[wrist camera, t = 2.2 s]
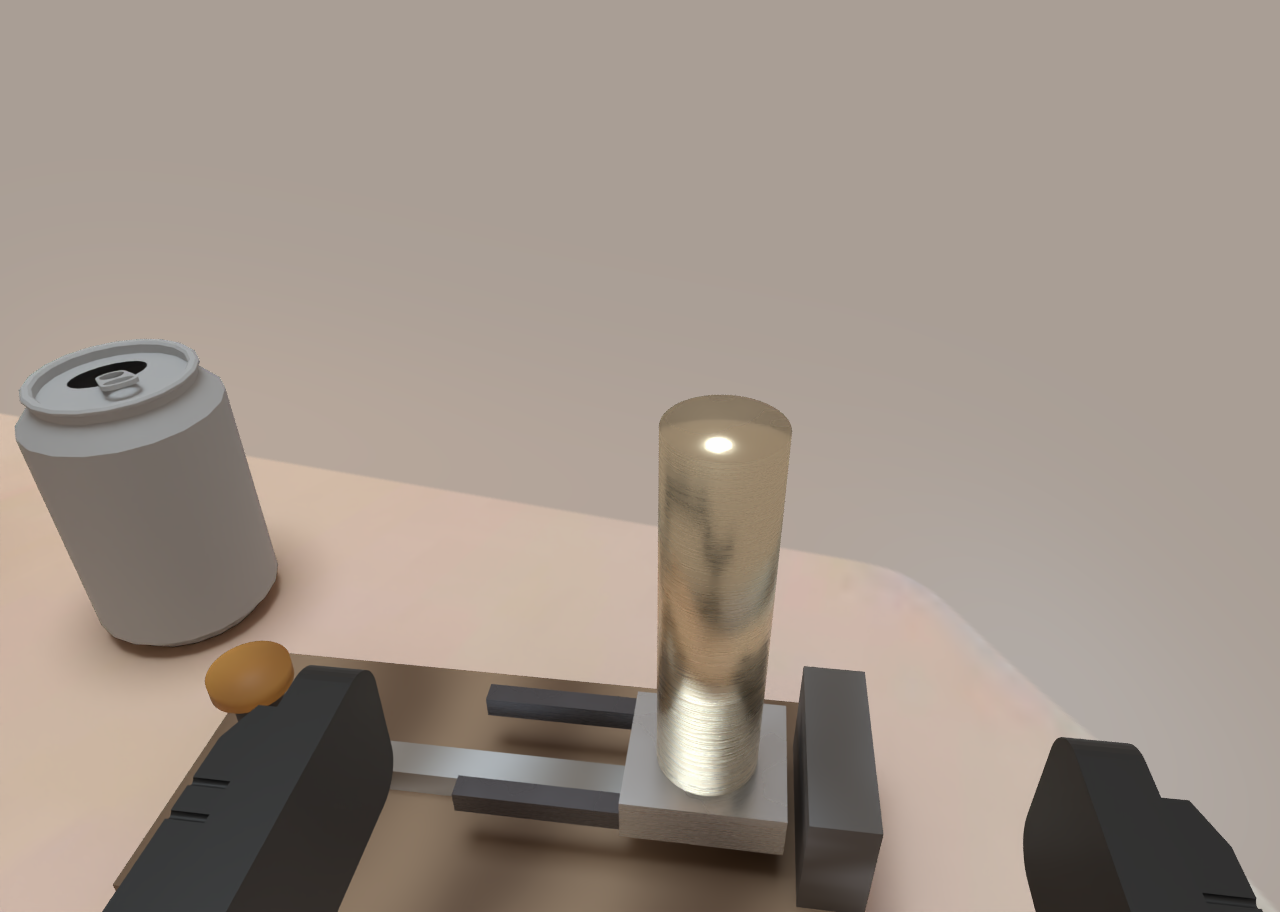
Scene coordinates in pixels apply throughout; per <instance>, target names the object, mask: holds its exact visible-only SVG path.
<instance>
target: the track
mask: <svg viewBox="0 0 1280 912" xmlns="http://www.w3.org/2000/svg"><path fill="white" fill-rule="evenodd" d="M309 665H318V666H329V667H340V668H351V669H361V670H368V671H370V672H371V673H372V674H373V676H374V677H375V680H376V684H377V688H378V692H379V696H380V700H381V704H382V709H383V713H384V717H385V721H386V725H387V729H388V733H389V737H390V741H391V745H392V750H393V774H392V780H391V785H390V789H389V793H388V796H387V799H386V802H385V804H384V807H383V809H382V811H381V814H380V816H379V818H378V821H377V823H376V825H375V827H374V830H373V832H372V834H371V837H370V839H369V841H368V843H367V846H366V848H365V850H364V853H363V855H362V857H361V859H360V862H359V864H358V866H357V869H356V871H355V873H354V875H353V878H352V880H351V882H350V884H349V887H348V889H347V891H346V894H345V896H344V898H343V900H342V903H341V905H340V907H339V910H338V912H865V908H866V904H867V900H868V896H869V891H870V887H871V883H872V879H873V875H874V871H875V867H876V863H877V858H878V854H879V850H880V846H881V842H882V838H883V828H882V819H881V810H880V801H879V793H878V784H877V775H876V766H875V758H874V749H873V740H872V731H871V722H870V714H869V705H868V696H867V687H866V679H865V672H860V671H849V670H839V669H828V668H817V667H806V666H804V668H803V676H802V683H801V690H800V698H799V703H795V702H785V701H775V700H765V699H764V704H772V705H782V706H786V739H787V820H788V823H787V830H786V837H785V844H784V851H783V855H777V854H769V853H760V852H752V851H743V850H735V849H726V848H718V847H709V846H700V845H692V844H683V843H675V842H666V841H658V840H649V839H640V838H632V837H623V836H619V830H618V829H609V828H601V827H592V826H583V825H575V824H566V823H558V822H549V821H540V820H532V819H523V818H514V817H506V816H497V815H489V814H480V813H471V812H463V811H455V810H454V805H453V800H452V795H451V794H452V792H453V789H454V786H455V783H456V780H457V778H458V775H461V776H470V777H479V778H488V779H497V780H506V781H515V782H524V783H533V784H542V785H550V786H559V787H568V788H577V789H586V790H595V791H604V792H613V793H620V792H621V787H622V781H623V775H624V769H625V764H626V758H627V752H628V746H629V740H630V735H631V730H629V729H619V728H609V727H599V726H590V725H580V724H570V723H561V722H551V721H541V720H531V719H522V718H512V717H502V716H492V715H488V711H487V704H486V697H487V695H488V692H489V689H490V686H491V684H498V685H508V686H518V687H528V688H538V689H548V690H558V691H569V692H579V693H589V694H599V695H609V696H619V697H629V698H637V694H638V691H639V692H649V693H657V689H651V688H641V687H631V686H620V685H610V684H600V683H589V682H579V681H569V680H559V679H548V678H538V677H528V676H517V675H507V674H497V673H486V672H476V671H466V670H456V669H445V668H435V667H425V666H414V665H404V664H394V663H383V662H373V661H363V660H353V659H342V658H332V657H322V656H311V655H301V654H291V653H289V652H288V651H287V649H286V648H285V647H283V646H282V645H280V644H278V643H275V642H271V641H255V642H249V643H245V644H242V645H239V646H237V647H235V648H233V649H231V650H229V651H227V652H226V653H224V654H223V655H221V656H220V657H219V658H218V659H217V660H216V661H215V662H214V663H213V664H212V665H211V666H210V668H209V670H208V672H207V674H206V677H205V685H206V689H207V691H208V694H209V696H210V699H211V701H212V703H213V705H214V706H215V707H216V708H218V709H219V710H221V711H224V712H227V713H228V714H227V715H226V717H225V718H224V720H223V721H222V723H221V724H220V726H219V727H218V729H217V730H216V732H215V733H214V735H213V736H212V738H211V739H210V741H209V742H208V744H207V745H206V747H205V748H204V750H203V751H202V753H201V754H200V756H199V757H198V758H197V760H196V761H195V763H194V764H193V766H192V767H191V769H190V770H189V772H188V773H187V775H186V776H185V778H184V779H183V781H182V782H181V784H180V785H179V787H178V788H177V790H176V791H175V793H174V794H173V796H172V797H171V799H170V800H169V802H168V803H167V805H166V806H165V808H164V809H163V811H162V812H161V814H160V815H159V817H158V818H157V820H156V821H155V823H154V824H153V826H152V827H151V829H150V830H149V832H148V833H147V835H146V836H145V838H144V839H143V841H142V842H141V844H140V845H139V847H138V848H137V850H136V851H135V852H134V854H133V855H132V857H131V858H130V860H129V861H128V863H127V864H126V866H125V867H124V869H123V870H122V872H121V873H120V875H119V876H118V878H117V879H116V881H115V882H114V884H113V886H114V888H115V890H116V891H117V889H118V888H119V886H120V885H121V883H122V882H123V880H124V879H125V877H126V876H127V874H128V873H129V871H130V870H131V868H132V867H133V865H134V864H135V862H136V861H137V859H138V858H139V856H140V855H141V853H142V852H143V850H144V849H145V847H146V846H147V844H148V843H149V841H150V840H151V838H152V837H153V835H154V834H155V833H156V831H157V830H158V828H159V827H160V825H161V824H162V822H163V821H164V819H168V818H169V817H170V815H171V809H172V807H173V806H174V804H175V803H176V801H177V800H178V798H179V797H180V795H181V794H182V792H183V791H184V789H185V788H186V786H187V785H191V784H192V782H193V776H194V775H195V773H196V772H197V770H198V769H199V767H200V766H201V764H202V763H203V761H204V760H205V758H206V757H207V755H208V754H209V752H210V751H211V749H212V748H213V746H214V745H215V743H216V742H217V740H218V739H219V737H221V736H222V735H223V734H224V733H225V732H227V731H228V730H229V729H230V728H231V727H233V726H234V725H235V724H236V723H237V722H239V721H240V720H241V719H242V718H243V717H245V716H246V715H247V714H248V713H249V712H251V711H252V710H253V709H254V708H255V707H257V706H258V705H264V706H274V707H277V706H278V705H279V703H280V701H281V700H282V698H283V697H284V695H285V693H286V692H287V690H288V689H289V687H290V685H291V684H292V682H293V681H294V679H295V678H296V676H297V675H298V673H299V672H300V671H301V670H302V669H303V668H305V667H306V666H309Z"/></svg>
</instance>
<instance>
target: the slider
mask: <svg viewBox="0 0 1280 912" xmlns="http://www.w3.org/2000/svg"><path fill="white" fill-rule="evenodd" d="M791 436H792V428H791V425H790V422H789V421H788V419H787V418H786V417H785V416H784V415H783V414H782V413H781V412H780V411H779V410H777V409H775V408H774V407H772V406H770V405H768V404H766V403H763V402H761V401H758V400H755V399H751V398H746V397H741V396H733V395H708V396H701V397H695V398H691V399H688V400H685V401H683V402H680V403H678V404H676V405H674V406H673V407H671V408H670V409H668V410H667V411H666V412H665V413H664V414H663V416H662V418H661V420H660V423H659V500H658V501H659V503H658V507H659V508H658V628H657V693H649V692H639V691H638V694H637V698H629V697H619V696H609V695H599V694H589V693H579V692H569V691H558V690H548V689H538V688H528V687H518V686H508V685H498V684H491V686H490V689H489V692H488V695H487V697H486V704H487V711H488V715H492V716H502V717H512V718H522V719H531V720H541V721H551V722H561V723H570V724H580V725H590V726H599V727H609V728H619V729H629V730H631V735H630V740H629V746H628V752H627V758H626V764H625V769H624V775H623V781H622V787H621V792H620V793H613V792H604V791H595V790H586V789H577V788H568V787H559V786H550V785H542V784H533V783H524V782H515V781H506V780H497V779H488V778H479V777H470V776H461V775H458V778H457V780H456V783H455V786H454V789H453V792H452V794H451V795H452V800H453V805H454V810H455V811H463V812H471V813H480V814H489V815H497V816H506V817H514V818H523V819H532V820H540V821H549V822H558V823H566V824H575V825H583V826H592V827H601V828H609V829H618V830H619V836H623V837H632V838H640V839H649V840H658V841H666V842H675V843H683V844H692V845H700V846H709V847H718V848H726V849H735V850H743V851H752V852H760V853H769V854H777V855H783V851H784V844H785V837H786V830H787V823H788V820H787V739H786V706H782V705H772V704H764V694H765V685H766V675H767V665H768V656H769V646H770V637H771V627H772V618H773V608H774V599H775V589H776V579H777V570H778V560H779V551H780V541H781V532H782V522H783V512H784V502H785V493H786V484H787V474H788V465H789V455H790V445H791Z"/></svg>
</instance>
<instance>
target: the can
mask: <svg viewBox="0 0 1280 912" xmlns="http://www.w3.org/2000/svg"><path fill="white" fill-rule="evenodd" d="M199 362H200V361H199V358H198V356H197V355H196V352H195V350H193V349H191V348H189V347H187V346H185V345H184V344H181V343H178V342H173V341H168V340H163V339H136V340H126V341H117V342H111V343H107V344H102V345H97V346H93V347H89V348H86V349H83V350H80V351H77V352H74V353H71V354H68V355H65V356H63V357H60V358H58V359H56V360H54V361H52V362H50V363H48V364H46V365H44V366H42V367H41V368H40V369H38V370H37V371H36V372H34V373H33V374H31V375H30V376H29V377H28V378H27V379H26V381H25V382H24V384H23V385H22V387H21V388H20V390H19V396H20V402H21V404H23V405H24V406H25V407H26V408H25V410H24V412H23V413H22V415H21V417H20V418H19V420H18V422H17V423H16V425H15V436H16V441H17V443H18V446H19V448H20V450H21V452H22V454H23V456H24V459H25V461H26V463H27V465H28V467H29V469H30V472H31V474H32V476H33V478H34V480H35V482H36V484H37V487H38V489H39V491H40V493H41V495H42V497H43V500H44V502H45V504H46V506H47V508H48V510H49V513H50V515H51V517H52V519H53V521H54V523H55V525H56V528H57V530H58V532H59V534H60V536H61V538H62V541H63V543H64V545H65V547H66V549H67V551H68V554H69V556H70V558H71V560H72V562H73V564H74V567H75V569H76V571H77V573H78V575H79V577H80V579H81V582H82V584H83V586H84V588H85V590H86V592H87V595H88V597H89V599H90V601H91V603H92V605H93V608H94V610H95V612H96V614H97V616H98V618H99V621H100V623H101V625H102V626H103V627H104V628H105V629H106V630H107V631H108V632H109V633H110V634H111V635H112V636H113V637H115V638H118V639H121V640H124V641H127V642H130V643H133V644H145V645H153V646H173V647H174V646H180V645H186V644H191V643H197V642H200V641H203V640H205V639H208V638H211V637H213V636H216V635H219V634H221V633H223V632H224V631H226V630H228V629H229V628H231V627H233V626H235V625H236V624H238V623H240V622H241V621H242V620H243V619H244V618H245V617H246V616H247V615H248V614H249V613H251V612H252V611H253V610H254V609H255V607H256V605H257V604H258V603H259V602H260V601H262V600H263V599H264V598H265V597H266V595H267V593H268V592H269V590H270V588H271V587H272V585H273V584H274V582H275V580H276V574H277V566H278V563H277V560H276V556H275V553H274V550H273V546H272V543H271V540H270V536H269V533H268V530H267V526H266V523H265V520H264V516H263V513H262V510H261V506H260V503H259V500H258V496H257V493H256V489H255V486H254V483H253V479H252V476H251V473H250V469H249V466H248V463H247V459H246V456H245V453H244V450H243V446H242V443H241V440H240V436H239V433H238V429H237V426H236V423H235V419H234V416H233V413H232V409H231V406H230V402H229V399H228V396H227V392H226V389H225V387H224V385H223V383H222V381H221V379H220V377H219V376H217V375H215V374H213V373H212V372H210V371H208V370H206V369H204V368H203V367H201V366H199Z"/></svg>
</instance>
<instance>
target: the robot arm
mask: <svg viewBox="0 0 1280 912" xmlns="http://www.w3.org/2000/svg"><path fill="white" fill-rule="evenodd" d="M392 774H393V750H392V745H391V741H390V737H389V733H388V729H387V725H386V721H385V717H384V713H383V709H382V704H381V700H380V696H379V692H378V688H377V684H376V680H375V677H374V676H373V674H372V673H371V672H370V671H368V670H361V669H351V668H340V667H329V666H318V665H309V666H306V667H305V668H303V669H302V670H301V671H300V672H299V673H298V675H297V676H296V678H295V679H294V681H293V682H292V684H291V685H290V687H289V689H288V690H287V692H286V693H285V695H284V697H283V698H282V700H281V701H280V703H279V705H278V706H277V707H274V706H264V705H258V706H257V707H255V708H254V709H253V710H252V711H251V712H249V713H248V714H247V715H246V716H245V717H243V718H242V719H241V720H240V721H239V722H237V723H236V724H235V725H234V726H233V727H231V728H230V729H229V730H228V731H227V732H225V733H224V734H223V735H222V736H221V737H219V739H218V740H217V742H216V743H215V745H214V746H213V748H212V749H211V751H210V752H209V754H208V755H207V757H206V758H205V760H204V761H203V763H202V764H201V766H200V767H199V769H198V770H197V772H196V773H195V775H194V776H193V782H192V784H191V785H187V786H186V788H185V789H184V791H183V792H182V794H181V795H180V797H179V798H178V800H177V801H176V803H175V804H174V806H173V807H172V809H171V815H170V817H169V818H168V819H164V821H163V822H162V824H161V825H160V827H159V828H158V830H157V831H156V833H155V834H154V835H153V837H152V838H151V840H150V841H149V843H148V844H147V846H146V847H145V849H144V850H143V852H142V853H141V855H140V856H139V858H138V859H137V861H136V862H135V864H134V865H133V867H132V868H131V870H130V871H129V873H128V874H127V876H126V877H125V879H124V880H123V882H122V883H121V885H120V886H119V888H118V889H117V891H116V892H115V893H114V895H113V896H112V898H111V899H110V901H109V902H108V904H107V905H106V907H105V908H104V910H103V911H102V912H338V910H339V907H340V905H341V903H342V900H343V898H344V896H345V894H346V891H347V889H348V887H349V884H350V882H351V880H352V878H353V875H354V873H355V871H356V869H357V866H358V864H359V862H360V859H361V857H362V855H363V853H364V850H365V848H366V846H367V843H368V841H369V839H370V837H371V834H372V832H373V830H374V827H375V825H376V823H377V821H378V818H379V816H380V814H381V811H382V809H383V807H384V804H385V802H386V799H387V796H388V793H389V789H390V785H391V780H392ZM1023 852H1024V864H1025V870H1026V876H1027V880H1028V884H1029V888H1030V892H1031V896H1032V899H1033V903H1034V907H1035V911H1036V912H1263V911H1262V909H1258V908H1257V906H1256V897H1255V895H1254V893H1253V890H1252V888H1251V886H1250V884H1249V882H1248V880H1247V878H1246V876H1245V874H1244V872H1243V870H1242V868H1241V866H1240V864H1239V862H1238V860H1237V857H1236V855H1235V853H1234V851H1233V849H1232V847H1231V846H1230V845H1229V844H1228V843H1227V841H1226V840H1225V839H1224V838H1223V837H1222V836H1221V835H1220V834H1219V833H1218V832H1217V831H1216V829H1215V828H1214V827H1213V826H1212V825H1211V824H1210V823H1209V822H1208V821H1207V820H1206V819H1205V817H1204V816H1203V815H1202V814H1201V813H1200V812H1199V811H1198V810H1197V809H1196V808H1195V806H1194V805H1193V804H1192V803H1191V802H1190V801H1188V800H1178V799H1168V798H1161V796H1160V794H1159V792H1158V789H1157V787H1156V785H1155V782H1154V780H1153V778H1152V776H1151V773H1150V771H1149V769H1148V766H1147V764H1146V762H1145V760H1144V758H1143V756H1142V754H1141V753H1140V751H1139V750H1138V749H1137V748H1136V747H1135V746H1134V745H1132V744H1128V743H1118V742H1107V741H1096V740H1086V739H1075V738H1064V737H1060V738H1058V739H1056V740H1055V742H1054V743H1053V745H1052V748H1051V750H1050V753H1049V756H1048V759H1047V761H1046V764H1045V767H1044V770H1043V773H1042V775H1041V778H1040V781H1039V784H1038V787H1037V789H1036V792H1035V795H1034V798H1033V801H1032V803H1031V806H1030V809H1029V812H1028V815H1027V818H1026V821H1025V827H1024V836H1023Z"/></svg>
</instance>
